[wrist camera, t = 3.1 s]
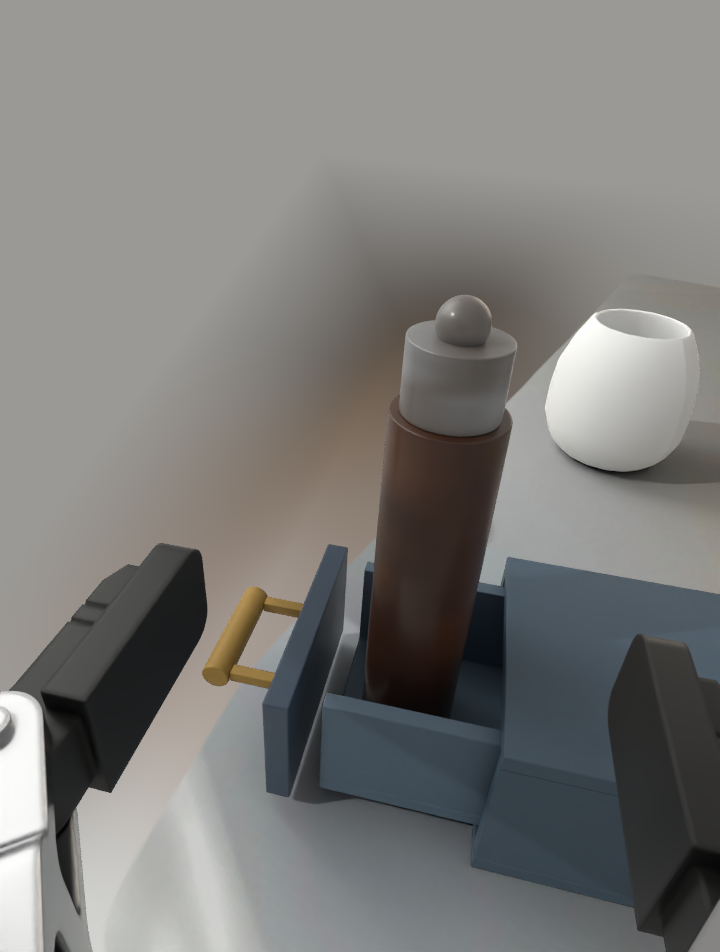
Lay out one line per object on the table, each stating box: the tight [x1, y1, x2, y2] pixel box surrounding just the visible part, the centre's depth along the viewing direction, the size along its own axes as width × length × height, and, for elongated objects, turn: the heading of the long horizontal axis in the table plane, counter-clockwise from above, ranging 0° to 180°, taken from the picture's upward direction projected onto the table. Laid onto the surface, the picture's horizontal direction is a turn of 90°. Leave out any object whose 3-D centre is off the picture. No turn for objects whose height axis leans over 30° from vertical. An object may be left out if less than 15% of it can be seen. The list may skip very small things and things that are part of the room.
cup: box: [545, 309, 700, 472], centre depth 60 cm, size 13×13×14 cm
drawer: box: [202, 544, 505, 826], centre depth 33 cm, size 17×11×7 cm
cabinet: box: [471, 557, 720, 907], centre depth 31 cm, size 14×13×9 cm
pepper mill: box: [362, 295, 517, 719], centre depth 28 cm, size 5×5×22 cm
